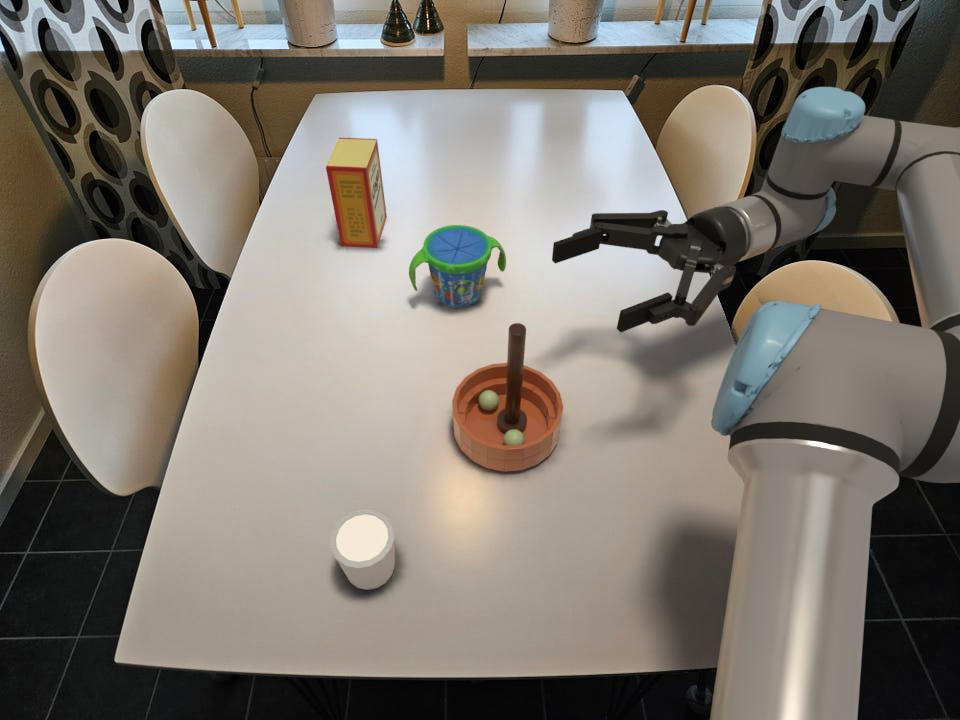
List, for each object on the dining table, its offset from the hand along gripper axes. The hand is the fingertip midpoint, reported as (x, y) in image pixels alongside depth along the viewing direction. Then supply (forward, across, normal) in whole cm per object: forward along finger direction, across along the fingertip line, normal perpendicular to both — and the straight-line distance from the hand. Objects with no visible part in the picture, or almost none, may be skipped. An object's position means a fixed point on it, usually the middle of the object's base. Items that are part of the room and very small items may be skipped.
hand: (585, 285), depth 74 cm
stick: (+9, 0, -21) cm, 23 cm away
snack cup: (+3, +28, -22) cm, 35 cm away
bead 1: (+10, +4, -20) cm, 23 cm away
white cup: (+33, -10, -22) cm, 41 cm away
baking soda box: (+11, +51, -22) cm, 57 cm away
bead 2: (+10, -3, -20) cm, 22 cm away
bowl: (+10, 0, -22) cm, 24 cm away
